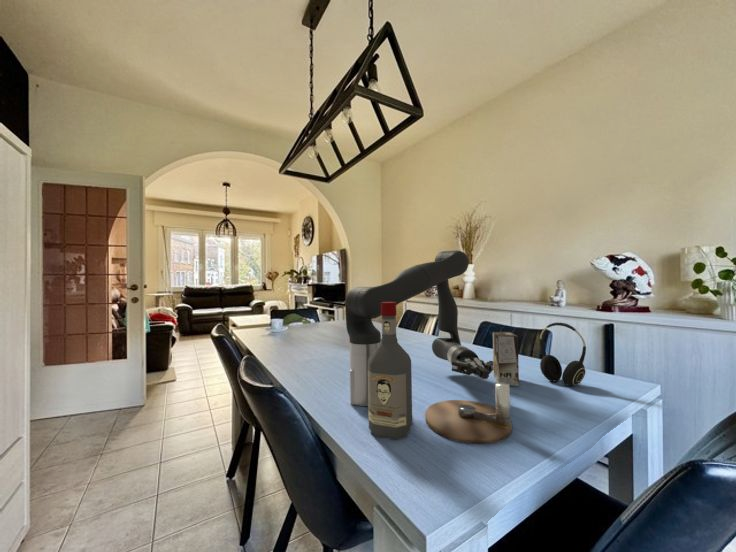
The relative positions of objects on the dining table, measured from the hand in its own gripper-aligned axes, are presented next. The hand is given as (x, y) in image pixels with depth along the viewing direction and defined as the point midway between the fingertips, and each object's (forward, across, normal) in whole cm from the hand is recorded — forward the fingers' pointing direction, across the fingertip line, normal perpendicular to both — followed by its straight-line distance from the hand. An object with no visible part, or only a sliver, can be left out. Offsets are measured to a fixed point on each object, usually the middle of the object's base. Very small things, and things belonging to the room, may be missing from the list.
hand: (485, 375), depth 82 cm
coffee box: (-23, +17, +10) cm, 30 cm away
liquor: (+7, -26, +10) cm, 29 cm away
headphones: (-19, +34, +10) cm, 40 cm away
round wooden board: (+5, -7, +10) cm, 13 cm away
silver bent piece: (+8, -4, +8) cm, 12 cm away
